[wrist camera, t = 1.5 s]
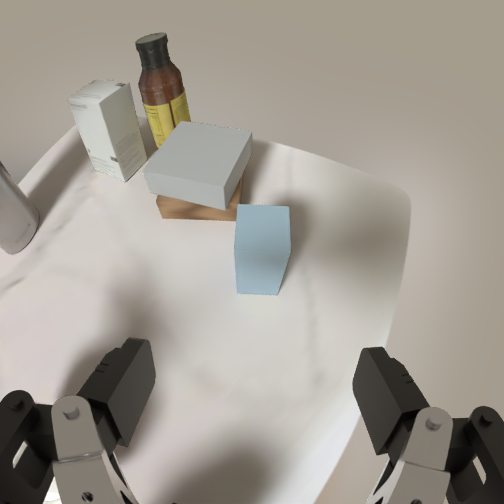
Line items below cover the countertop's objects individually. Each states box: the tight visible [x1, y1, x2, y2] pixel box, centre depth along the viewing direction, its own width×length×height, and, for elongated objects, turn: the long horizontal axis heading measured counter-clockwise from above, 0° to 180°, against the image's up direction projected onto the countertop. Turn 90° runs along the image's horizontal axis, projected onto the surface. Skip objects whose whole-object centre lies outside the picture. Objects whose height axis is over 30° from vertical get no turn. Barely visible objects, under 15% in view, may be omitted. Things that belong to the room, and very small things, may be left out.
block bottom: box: [156, 174, 243, 221], centre depth 36 cm, size 10×10×4 cm
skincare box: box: [67, 80, 147, 182], centre depth 33 cm, size 8×6×15 cm
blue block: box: [234, 204, 291, 295], centre depth 27 cm, size 4×4×10 cm
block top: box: [143, 121, 252, 211], centre depth 32 cm, size 10×10×4 cm
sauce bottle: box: [136, 33, 191, 149], centre depth 33 cm, size 6×6×20 cm
